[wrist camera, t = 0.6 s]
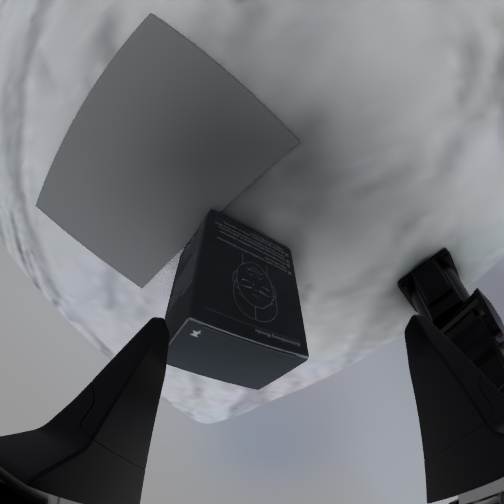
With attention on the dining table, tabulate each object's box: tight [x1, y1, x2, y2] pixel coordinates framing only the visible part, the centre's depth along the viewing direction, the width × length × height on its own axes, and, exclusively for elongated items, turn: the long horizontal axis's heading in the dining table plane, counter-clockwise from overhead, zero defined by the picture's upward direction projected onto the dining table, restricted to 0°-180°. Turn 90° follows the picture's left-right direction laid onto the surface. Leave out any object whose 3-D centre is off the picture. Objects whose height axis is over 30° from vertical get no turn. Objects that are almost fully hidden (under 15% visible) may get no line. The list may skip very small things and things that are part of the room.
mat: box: [36, 13, 300, 288], centre depth 20 cm, size 14×20×1 cm
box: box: [165, 209, 309, 390], centre depth 20 cm, size 8×6×11 cm
